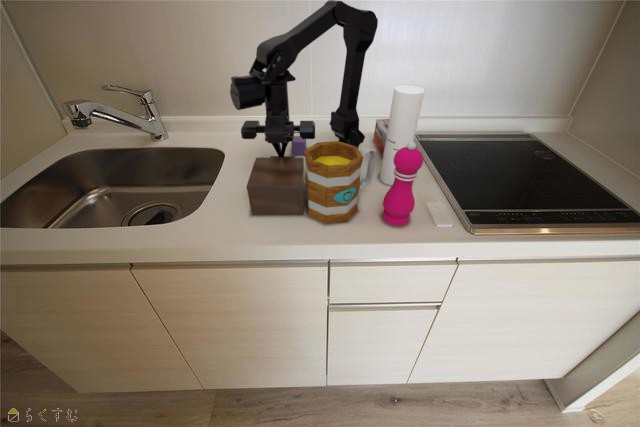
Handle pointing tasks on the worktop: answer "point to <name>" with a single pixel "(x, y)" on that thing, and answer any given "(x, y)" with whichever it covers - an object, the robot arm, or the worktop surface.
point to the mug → (335, 180)
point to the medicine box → (381, 134)
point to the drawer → (284, 156)
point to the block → (298, 145)
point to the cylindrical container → (400, 126)
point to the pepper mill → (402, 185)
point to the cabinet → (276, 186)
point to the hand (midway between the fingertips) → (281, 159)
